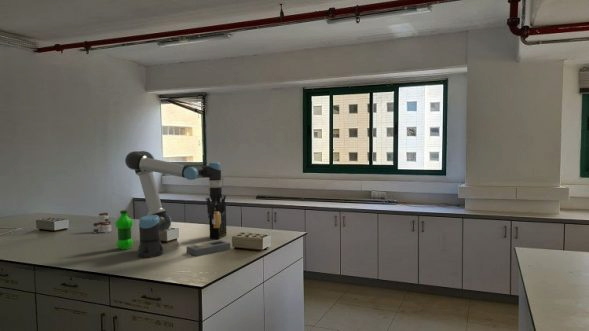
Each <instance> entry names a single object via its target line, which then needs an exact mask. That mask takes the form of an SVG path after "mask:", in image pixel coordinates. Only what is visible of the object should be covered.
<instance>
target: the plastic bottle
mask: <svg viewBox="0 0 589 331" xmlns="http://www.w3.org/2000/svg"><path fill="white" fill-rule="evenodd" d="M119 214H120V216H119V217H118V218H117V219H116V220H115V228H116V229H117V241H116V246H117V247H118V248H119V249H120V250H129V249H130V248H132V246H133V244H134V241H133V238H132V227H133V225H134V221H133V219H132V218H131V217H130V216H128V210H127V209H122V210H120V212H119Z"/></svg>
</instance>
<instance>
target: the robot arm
mask: <svg viewBox="0 0 589 331" xmlns="http://www.w3.org/2000/svg"><path fill="white" fill-rule="evenodd" d="M124 163H125V166H126V167H128V169H130V170H134V172H135V175H137V176H138V178H139V181H140V185H141V188H142V192H143V196H144V199H145V202H146V206H147V209H148V213H147V215H144V216H142V217H140V218H139V220H138V221H139V222H138V227H139V245H138V248H137V252H136V254H137V255H136V256H137V257H139V258H154V257H160V256H161V255H163V254H164V248H163V245H162V242H161V234H162V233H164V232H167V230H169V229H170V227H171V226H172V218H171V216H170V215H169V214H167V211H166V209H165V208H163V206H162V205H163V204H162V201H161V198H160V195H159V191H158V187H157V183H156V180H155V177H154V176H155V175H154V173H153V172H155V173H160V174H165V175H170V176H175V177H180V178H183V179H187V180H189V181H193V180H197V179H202V178H203V179H205V178H207V179H209V182H208V183H209V184H208V186H209V196H208V197H205V201H206V205H207V206H206V207H207V209H206V210H207V213H208V214H209V213H210V214H211V219H212V224H215V214H214V209H215V203H217V206H218V211H219V212H220V223H221V218H222V213H223V212H224V211H225V203H226V198H227V196H225V195H223V193H222V191H223V190H222V166H221V163H220V162H209V163H208V165H186V164H180V163H175V162H170V161H166V160H161V159H156V158H155V157H154V155H153V154H152V153H151V152H148V151H146V150H139V151H135V150H134V151H131V152H129V153H128V154H126V157H125V160H124Z"/></svg>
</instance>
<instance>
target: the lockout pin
mask: <svg viewBox="0 0 589 331" xmlns="http://www.w3.org/2000/svg"><path fill="white" fill-rule="evenodd" d="M214 214H215V224H214V228H220V212H219V211H216V212H214Z"/></svg>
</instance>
